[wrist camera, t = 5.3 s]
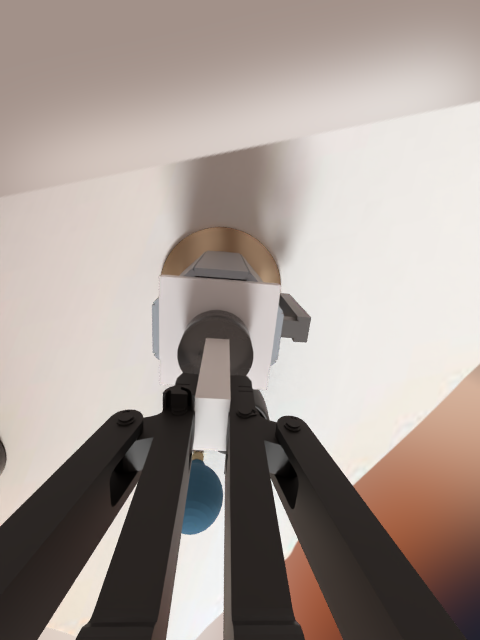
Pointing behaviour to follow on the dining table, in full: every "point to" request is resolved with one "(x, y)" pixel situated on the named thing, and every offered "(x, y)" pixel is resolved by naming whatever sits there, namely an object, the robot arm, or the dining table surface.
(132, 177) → the dining table surface
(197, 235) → the cork trivet
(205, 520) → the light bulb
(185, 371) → the plunger
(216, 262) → the carafe
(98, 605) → the robot arm
